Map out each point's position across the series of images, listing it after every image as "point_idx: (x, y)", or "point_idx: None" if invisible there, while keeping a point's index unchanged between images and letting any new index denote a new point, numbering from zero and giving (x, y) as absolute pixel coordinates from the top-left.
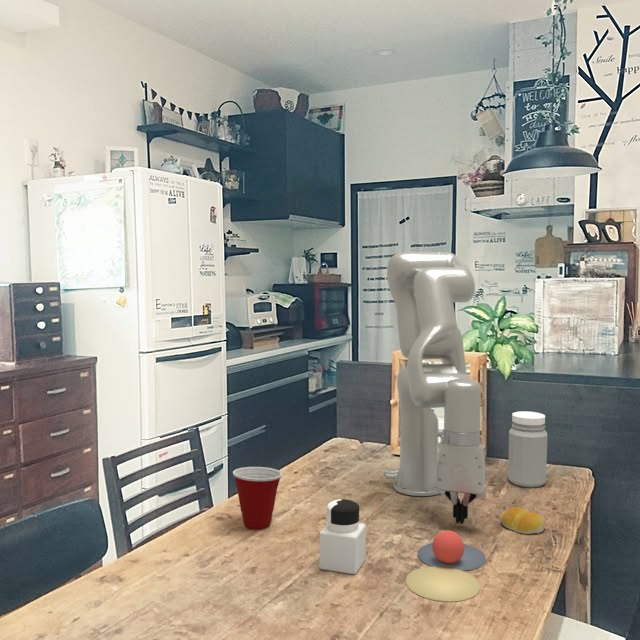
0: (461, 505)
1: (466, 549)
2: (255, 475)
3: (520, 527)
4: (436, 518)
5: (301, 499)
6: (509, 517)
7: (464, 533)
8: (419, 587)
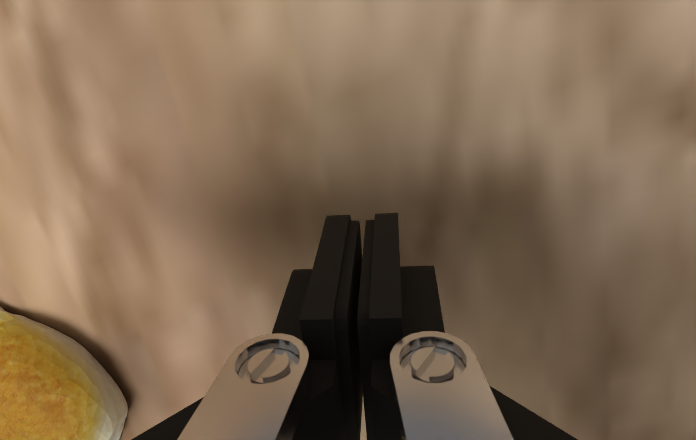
0: (330, 338)
1: None
2: None
3: None
4: (571, 356)
5: None
6: (2, 398)
7: (314, 148)
8: None
